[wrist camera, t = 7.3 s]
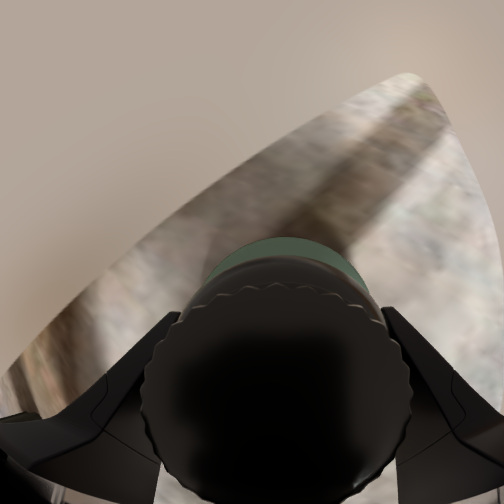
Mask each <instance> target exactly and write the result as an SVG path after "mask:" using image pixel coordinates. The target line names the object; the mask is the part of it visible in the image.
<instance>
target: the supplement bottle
mask: <svg viewBox="0 0 504 504" xmlns="http://www.w3.org/2000/svg"><path fill="white" fill-rule="evenodd" d="M144 376H145V381H144V383H143V384H142V386H141V388H140V394H141V398H142V405H141V409H140V413H141V416H142V418H143V420H144V422H145V434H146V436H147V438H148V439H149V440H150V442H151V443H152V446H153V452H154V454H155V455H156V456H157V457H158V458H159V459H160V460H161V461H162V462H163V464H164V467H165V469H166V471H167V472H168V473H169V474H171V475H172V476H173V477H175V478H176V479H177V480H178V481H179V483H180V484H181V485H182V487H184V488H186V489H187V490H190V491H192V492H194V493H195V494H196V495H197V496H198V497H199V498H201V499H202V500H204V501H207V502H211V503H214V504H341V503H342V502H344V501H345V500H346V499H347V498H349V497H351V496H353V495H356V494H358V493H360V492H361V491H362V490H363V489H364V488H365V487H366V486H367V485H368V484H369V483H370V482H372V481H374V480H375V479H377V478H378V477H379V476H380V475H381V473H382V471H383V469H384V468H385V467H386V466H387V465H388V464H389V463H390V462H391V461H392V460H394V458H395V455H396V451H397V449H398V447H399V446H400V445H401V444H402V442H403V441H404V440H405V438H406V427H407V425H408V423H409V422H410V419H411V417H412V411H411V409H410V404H411V401H412V397H413V393H414V392H413V390H412V387H411V386H410V384H409V377H410V368H409V367H408V366H407V364H406V363H405V362H404V361H403V360H402V352H401V347H400V345H399V344H398V343H397V342H396V341H394V340H393V339H391V335H390V331H389V328H388V325H387V323H386V320H385V318H384V316H383V314H382V312H381V310H380V308H379V307H378V305H377V304H376V302H375V301H374V299H373V298H372V297H371V295H370V294H369V293H368V292H367V291H366V290H365V289H364V288H363V287H362V286H361V285H360V284H359V283H358V282H357V281H356V280H354V279H353V278H352V277H350V276H349V275H347V274H346V273H344V272H343V271H341V270H339V269H337V268H335V267H333V266H331V265H329V264H327V263H324V262H321V261H318V260H315V259H310V258H306V257H300V256H292V255H276V256H266V257H260V258H255V259H251V260H248V261H245V262H242V263H239V264H236V265H234V266H232V267H230V268H228V269H226V270H224V271H223V272H221V273H219V274H218V275H216V276H215V277H213V278H212V279H211V280H209V281H208V282H207V283H206V284H205V285H203V286H202V287H201V288H200V289H199V290H198V291H197V292H196V293H195V295H194V296H193V297H192V298H191V299H190V301H189V302H188V303H187V305H186V306H185V308H184V309H183V311H182V313H181V314H180V316H179V318H178V320H177V322H176V323H174V324H172V325H171V326H170V328H169V330H168V332H167V335H166V337H165V339H164V340H162V341H160V342H159V343H157V344H156V345H155V347H154V351H153V357H152V360H151V361H150V362H149V363H148V364H147V365H146V366H145V368H144Z"/></svg>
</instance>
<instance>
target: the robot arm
mask: <svg viewBox="0 0 504 504" xmlns="http://www.w3.org/2000/svg"><path fill="white" fill-rule="evenodd" d="M381 312H382V314H383V316H384V318H385V320H386V323H387V325H388V328H389V331H390V335H391V339H393V340H394V341H396V342H397V343H398V344H399V345H400V347H401V352H402V360H403V361H404V362H405V363H406V364H407V366H408V367H409V368H410V377H409V384H410V386H411V387H412V390H413V392H414V393H413V397H412V401H411V404H410V409H411V411H412V417H411V419H410V422H409V423H408V425H407V427H406V438H405V440H404V441H403V442H402V444H401V445H400V446H399V447H398V449H397V451H396V455H395V460H396V466H397V467H396V471H397V484H398V503H399V504H504V416H503V415H501V414H500V413H499V412H498V411H496V410H495V409H494V408H493V407H492V406H491V405H490V404H489V403H488V402H487V401H486V400H485V399H483V398H482V397H481V396H480V395H479V394H478V393H477V392H476V391H475V390H474V389H473V388H472V387H471V386H470V385H469V384H468V383H467V382H466V381H465V380H464V379H463V378H462V377H461V376H460V375H459V374H458V373H457V371H456V370H454V369H453V367H452V366H451V365H450V364H449V363H448V362H447V361H446V360H445V359H444V358H443V357H442V356H441V354H440V353H439V352H438V351H437V350H436V349H435V348H434V347H433V346H432V345H431V344H430V343H429V342H428V341H427V340H426V339H425V338H424V337H423V336H422V335H421V334H420V333H419V332H418V331H417V330H416V329H415V328H414V327H413V326H412V325H411V324H410V323H409V322H408V321H407V320H406V319H405V318H404V317H403V316H402V315H401V314H400V313H399V312H398V311H397V310H396V309H395V308H394V307H391V306H390V307H382V308H381ZM180 314H181V312H174V311H171V312H169V313H168V314H167V315H166V316H165V317H164V318H163V319H162V320H160V321H159V322H158V323H157V324H156V325H155V326H154V327H153V328H152V329H151V330H150V331H149V332H148V333H147V334H146V335H145V336H144V337H143V338H142V339H141V340H139V341H138V342H137V343H136V344H135V345H134V346H133V347H132V348H131V349H130V350H129V351H128V352H127V353H126V354H125V355H124V356H123V357H122V358H121V359H120V360H119V361H118V362H117V363H116V364H115V365H114V366H112V367H111V368H110V369H109V370H108V371H107V374H104V375H103V376H102V377H101V378H100V379H99V380H98V381H97V382H96V383H95V384H94V385H93V386H91V387H90V388H89V389H88V390H87V391H86V392H84V393H83V394H82V395H81V396H80V397H78V398H77V399H76V400H75V401H73V402H72V403H71V404H70V405H68V406H67V407H66V408H65V409H63V410H62V411H61V412H59V413H58V414H56V415H55V416H53V417H50V418H47V419H42V420H35V421H27V422H18V423H0V504H153V502H154V497H155V491H156V486H157V481H158V476H159V471H160V465H161V460H160V459H159V458H158V457H157V456H156V455H155V454H154V452H153V446H152V443H151V442H150V440H149V439H148V438H147V436H146V434H145V422H144V420H143V418H142V416H141V413H140V409H141V405H142V398H141V394H140V388H141V386H142V384H143V383H144V381H145V376H144V368H145V366H146V365H147V364H148V363H149V362H150V361H151V360H152V357H153V351H154V347H155V345H156V344H157V343H159V342H160V341H162V340H164V339H165V337H166V335H167V332H168V330H169V328H170V326H171V325H172V324H174V323H176V322H177V320H178V318H179V316H180Z"/></svg>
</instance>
